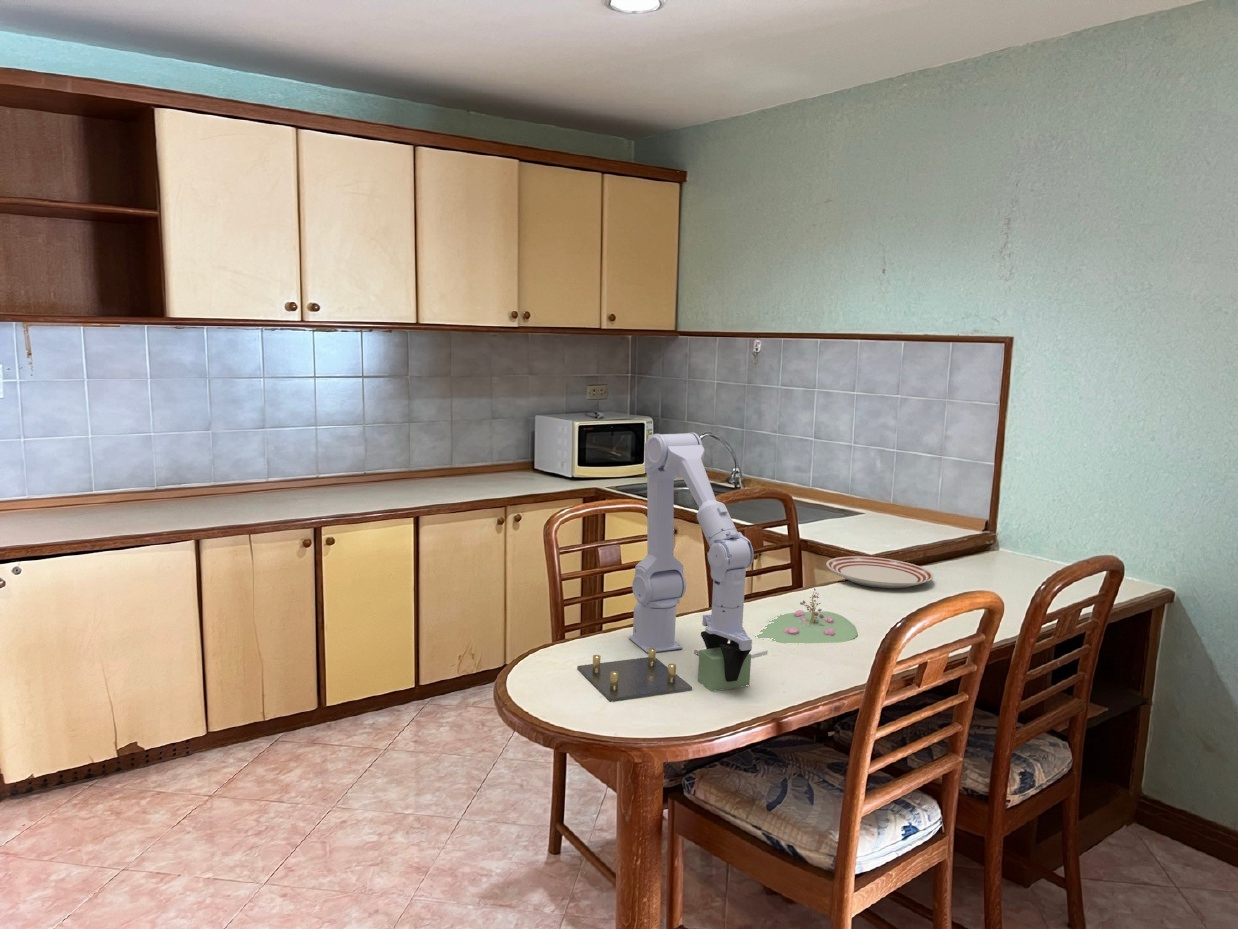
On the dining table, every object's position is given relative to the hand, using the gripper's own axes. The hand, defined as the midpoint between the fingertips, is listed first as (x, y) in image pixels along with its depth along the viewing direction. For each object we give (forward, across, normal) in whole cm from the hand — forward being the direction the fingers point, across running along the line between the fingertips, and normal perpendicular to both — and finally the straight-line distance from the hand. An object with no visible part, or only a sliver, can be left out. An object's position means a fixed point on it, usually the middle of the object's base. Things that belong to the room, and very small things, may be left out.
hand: (723, 675), depth 168 cm
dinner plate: (+2, -50, +76) cm, 90 cm away
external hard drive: (+2, -13, +9) cm, 16 cm away
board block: (+2, 0, 0) cm, 2 cm away
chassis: (+2, -7, -15) cm, 17 cm away
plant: (+2, -21, +32) cm, 38 cm away
